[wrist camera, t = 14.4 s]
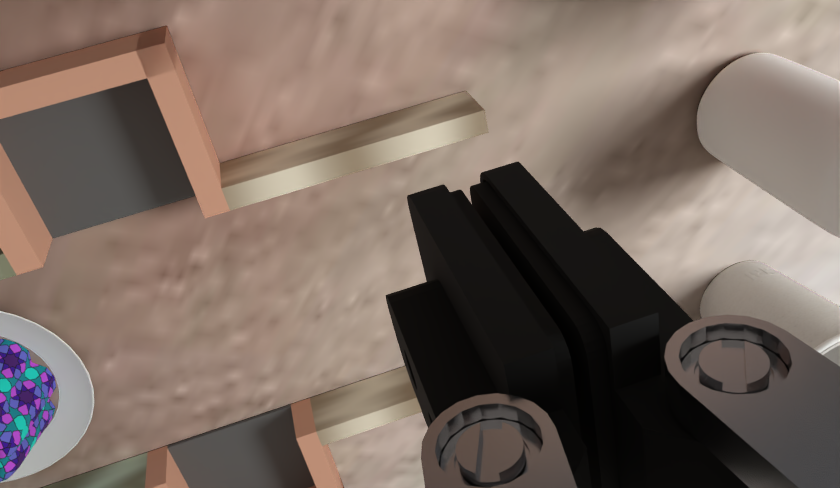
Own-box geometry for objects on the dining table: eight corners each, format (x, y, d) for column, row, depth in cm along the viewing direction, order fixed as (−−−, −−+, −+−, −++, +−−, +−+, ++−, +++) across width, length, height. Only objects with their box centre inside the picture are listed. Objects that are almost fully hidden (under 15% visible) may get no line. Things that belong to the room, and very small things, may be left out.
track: (465, 90, 39) (491, 117, 36) (511, 345, 48) (535, 385, 45) (-293, 314, 35) (-345, 367, 32) (-86, 546, 44) (-109, 607, 41)
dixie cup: (691, 252, 49) (795, 345, 40) (805, 233, 50) (928, 318, 42) (673, 356, 53) (764, 460, 44) (778, 335, 54) (885, 431, 46)
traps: (166, 25, 34) (164, 42, 32) (343, 486, 51) (351, 521, 48) (-61, 87, 33) (-82, 110, 30) (196, 538, 50) (196, 577, 47)
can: (699, 58, 42) (860, 136, 32) (802, 42, 43) (988, 114, 33) (685, 165, 45) (827, 267, 35) (781, 148, 46) (945, 242, 36)
